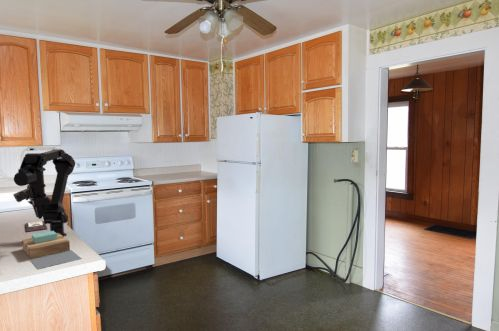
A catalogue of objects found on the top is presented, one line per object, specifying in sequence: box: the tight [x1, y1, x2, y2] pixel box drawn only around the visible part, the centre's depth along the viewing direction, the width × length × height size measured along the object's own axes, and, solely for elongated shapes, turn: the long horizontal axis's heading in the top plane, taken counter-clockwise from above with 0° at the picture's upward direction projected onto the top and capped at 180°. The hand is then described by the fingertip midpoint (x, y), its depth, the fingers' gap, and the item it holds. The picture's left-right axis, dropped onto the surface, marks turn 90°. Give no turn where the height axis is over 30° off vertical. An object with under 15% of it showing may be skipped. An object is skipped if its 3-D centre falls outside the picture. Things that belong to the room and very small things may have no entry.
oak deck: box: [21, 233, 71, 259], centre depth 148 cm, size 16×14×4 cm
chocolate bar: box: [24, 220, 48, 233], centre depth 184 cm, size 9×1×18 cm
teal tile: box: [31, 230, 57, 244], centre depth 148 cm, size 6×8×2 cm
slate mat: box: [29, 249, 82, 270], centre depth 137 cm, size 13×15×1 cm
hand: (39, 217), depth 153 cm, fingers open, 4 cm apart
